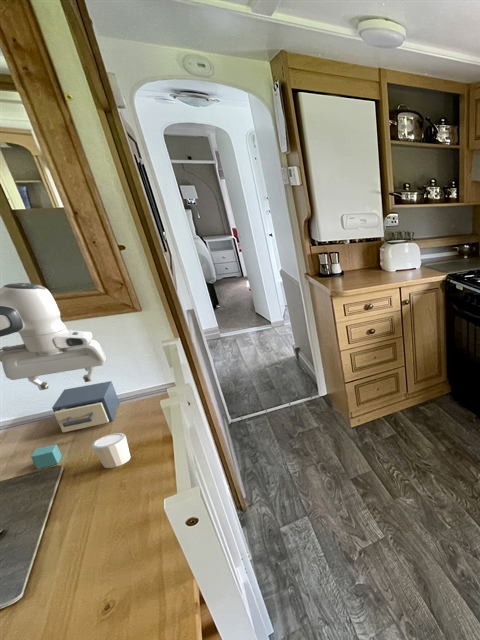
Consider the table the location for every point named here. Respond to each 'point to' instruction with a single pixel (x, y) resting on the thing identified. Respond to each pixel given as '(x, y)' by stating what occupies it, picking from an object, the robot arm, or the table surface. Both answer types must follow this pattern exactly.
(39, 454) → the teal cube
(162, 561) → the table surface
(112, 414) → the blue drawer cabinet
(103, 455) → the white faceted cup
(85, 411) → the drawer
